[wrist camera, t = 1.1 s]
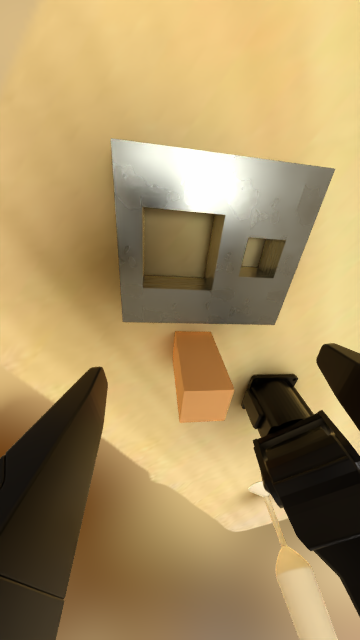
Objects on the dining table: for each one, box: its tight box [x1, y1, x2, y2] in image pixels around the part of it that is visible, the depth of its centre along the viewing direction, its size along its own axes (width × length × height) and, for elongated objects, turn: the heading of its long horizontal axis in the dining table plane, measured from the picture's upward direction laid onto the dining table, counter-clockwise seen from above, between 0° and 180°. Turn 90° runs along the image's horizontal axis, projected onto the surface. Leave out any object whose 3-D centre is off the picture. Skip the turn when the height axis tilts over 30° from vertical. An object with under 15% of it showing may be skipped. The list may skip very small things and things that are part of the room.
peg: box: [173, 331, 234, 423], centre depth 20 cm, size 4×4×8 cm
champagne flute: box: [248, 481, 338, 640], centre depth 38 cm, size 7×7×24 cm
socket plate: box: [111, 138, 335, 325], centre depth 17 cm, size 14×12×3 cm
